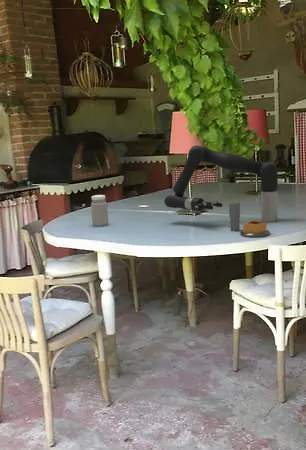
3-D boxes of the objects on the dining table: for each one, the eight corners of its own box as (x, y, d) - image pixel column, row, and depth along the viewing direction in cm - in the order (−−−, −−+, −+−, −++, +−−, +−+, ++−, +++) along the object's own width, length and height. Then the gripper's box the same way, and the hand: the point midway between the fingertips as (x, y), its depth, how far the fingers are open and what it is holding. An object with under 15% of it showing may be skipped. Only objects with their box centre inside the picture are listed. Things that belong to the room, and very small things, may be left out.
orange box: (234, 235, 274) (234, 223, 273) (250, 230, 285) (250, 218, 284) (259, 238, 264) (259, 226, 263) (275, 233, 274) (275, 221, 273)
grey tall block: (229, 230, 286) (229, 203, 284) (234, 229, 289) (233, 202, 286) (236, 231, 284) (235, 203, 281) (240, 230, 287) (239, 202, 284)
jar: (98, 223, 331) (96, 194, 327) (111, 223, 326) (109, 194, 323) (89, 226, 322) (87, 197, 319) (103, 226, 318) (100, 197, 314)
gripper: (186, 199, 297) (209, 201, 286) (202, 195, 307) (224, 197, 296) (186, 212, 298) (209, 215, 287) (202, 208, 308) (225, 211, 297)
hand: (217, 206), depth 292 cm, fingers open, 8 cm apart
